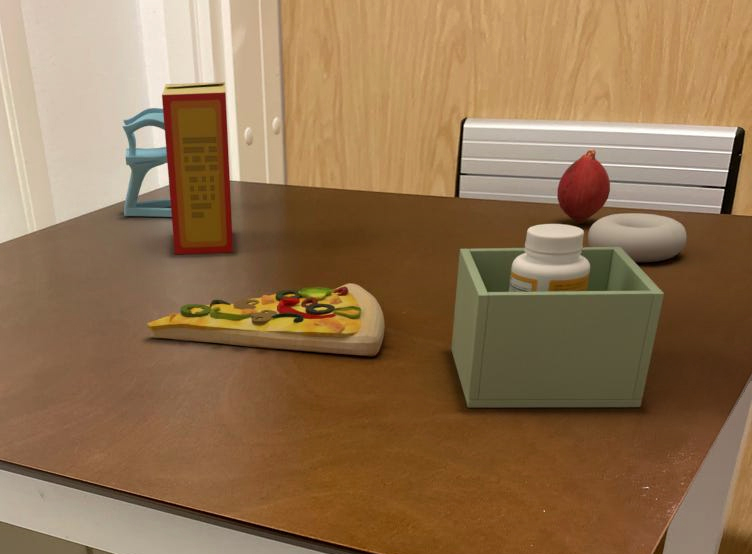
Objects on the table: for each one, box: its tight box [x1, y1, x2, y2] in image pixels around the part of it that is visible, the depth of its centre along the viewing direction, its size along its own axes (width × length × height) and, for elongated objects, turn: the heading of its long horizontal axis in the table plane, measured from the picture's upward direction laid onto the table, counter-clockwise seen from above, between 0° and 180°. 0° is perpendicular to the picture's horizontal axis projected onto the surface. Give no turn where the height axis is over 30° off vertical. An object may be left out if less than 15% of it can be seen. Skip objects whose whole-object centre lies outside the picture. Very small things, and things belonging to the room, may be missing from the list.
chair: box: [122, 107, 172, 218], centre depth 122 cm, size 8×8×12 cm
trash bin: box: [451, 246, 665, 409], centre depth 73 cm, size 12×12×8 cm
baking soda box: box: [161, 81, 234, 255], centre depth 107 cm, size 10×6×16 cm
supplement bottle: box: [509, 223, 590, 292], centre depth 72 cm, size 6×6×10 cm
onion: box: [556, 148, 611, 225], centre depth 113 cm, size 6×6×8 cm
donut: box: [587, 212, 688, 264], centre depth 103 cm, size 10×3×10 cm
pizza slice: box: [146, 282, 386, 357], centre depth 85 cm, size 16×21×3 cm
